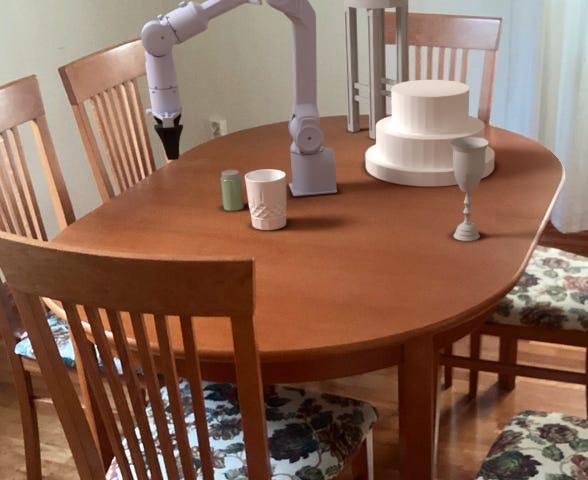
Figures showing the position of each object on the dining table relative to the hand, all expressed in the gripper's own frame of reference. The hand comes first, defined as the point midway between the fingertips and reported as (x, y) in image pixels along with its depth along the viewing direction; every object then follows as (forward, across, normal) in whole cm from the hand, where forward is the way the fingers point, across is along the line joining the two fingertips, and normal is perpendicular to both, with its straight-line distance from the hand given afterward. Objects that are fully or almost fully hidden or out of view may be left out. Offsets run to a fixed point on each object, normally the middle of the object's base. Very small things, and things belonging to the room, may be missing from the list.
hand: (172, 154), depth 190 cm
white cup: (+10, +19, +17) cm, 27 cm away
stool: (+10, -43, +53) cm, 69 cm away
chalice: (+10, +35, +53) cm, 64 cm away
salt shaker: (+10, +7, +11) cm, 16 cm away
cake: (+10, -10, +58) cm, 60 cm away
